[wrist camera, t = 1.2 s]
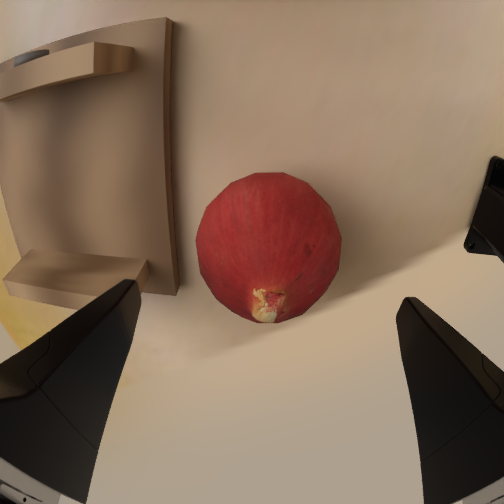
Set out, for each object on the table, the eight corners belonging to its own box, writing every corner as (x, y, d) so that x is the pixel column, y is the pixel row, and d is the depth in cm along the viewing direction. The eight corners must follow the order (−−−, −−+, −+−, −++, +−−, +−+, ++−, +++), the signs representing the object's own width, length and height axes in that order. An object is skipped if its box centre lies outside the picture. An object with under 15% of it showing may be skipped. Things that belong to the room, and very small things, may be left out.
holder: (172, 20, 10) (135, 1, 6) (179, 285, 18) (161, 339, 15) (-2, 67, 10) (-53, 79, 6) (35, 268, 18) (3, 306, 15)
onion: (337, 235, 16) (378, 351, 9) (241, 268, 17) (227, 389, 11) (300, 136, 13) (340, 202, 7) (192, 180, 15) (134, 278, 8)
